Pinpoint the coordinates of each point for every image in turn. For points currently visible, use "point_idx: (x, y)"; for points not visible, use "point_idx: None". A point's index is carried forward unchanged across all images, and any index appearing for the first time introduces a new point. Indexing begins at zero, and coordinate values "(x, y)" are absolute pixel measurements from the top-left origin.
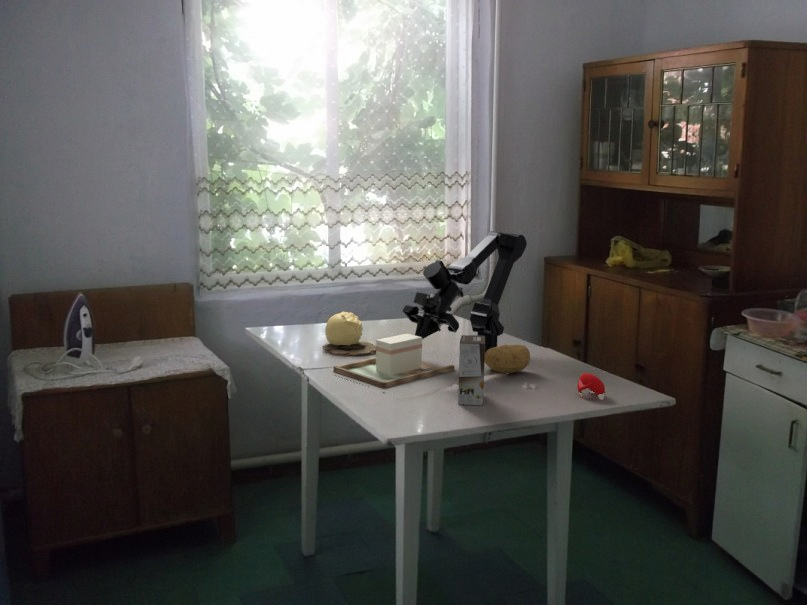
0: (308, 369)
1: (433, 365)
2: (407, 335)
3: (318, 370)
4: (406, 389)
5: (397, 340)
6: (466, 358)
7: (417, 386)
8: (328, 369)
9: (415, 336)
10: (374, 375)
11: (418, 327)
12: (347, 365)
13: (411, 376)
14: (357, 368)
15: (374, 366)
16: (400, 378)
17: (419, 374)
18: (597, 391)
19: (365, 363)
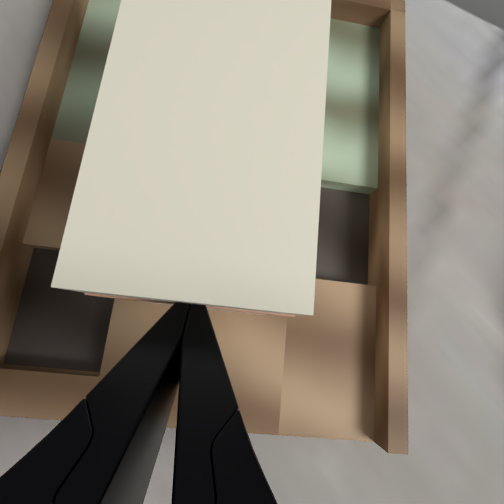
0: (498, 41)
1: None
2: (248, 239)
3: (468, 51)
4: (37, 49)
5: (180, 13)
6: None
7: (20, 106)
8: (457, 80)
9: (143, 263)
10: None
11: (200, 440)
12: (388, 52)
13: (32, 74)
14: (362, 99)
15: (336, 166)
16: (53, 15)
17: (17, 125)
18: None
19: (383, 153)
